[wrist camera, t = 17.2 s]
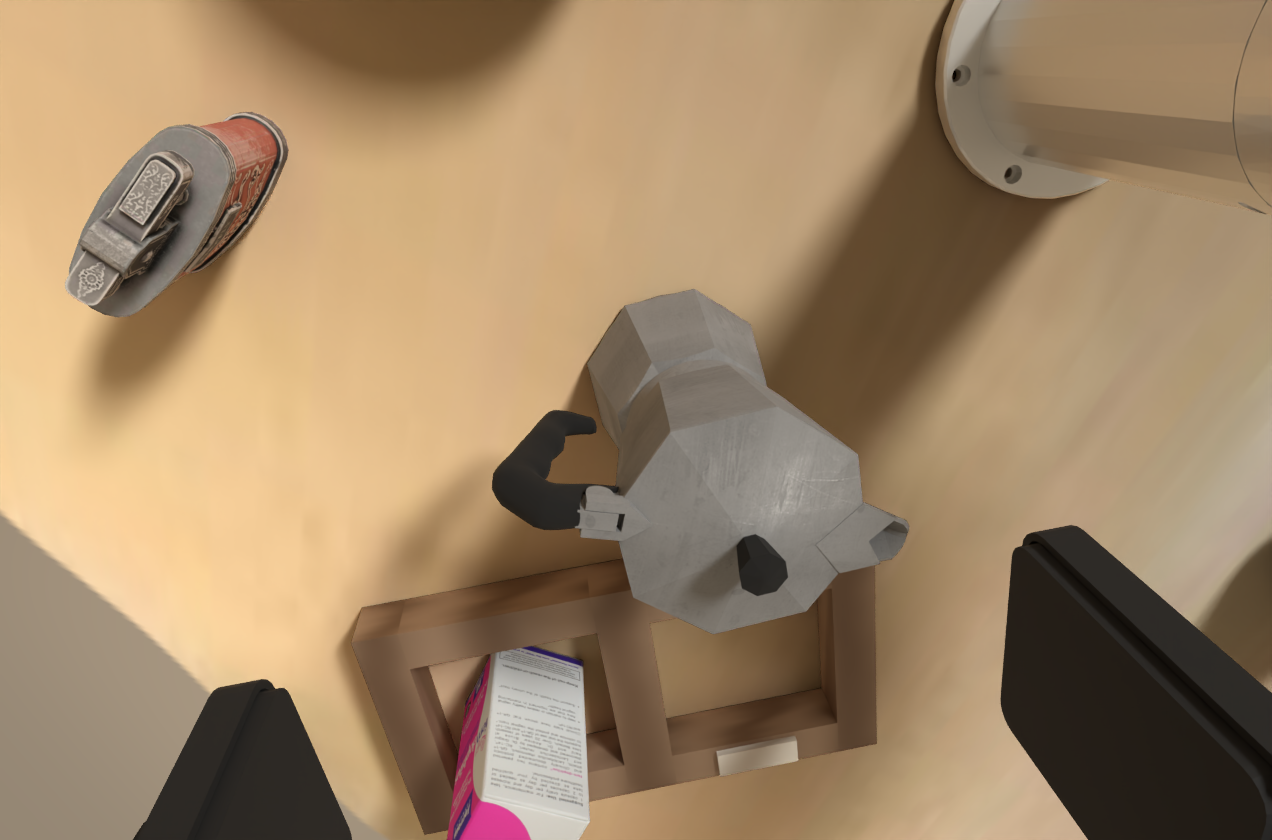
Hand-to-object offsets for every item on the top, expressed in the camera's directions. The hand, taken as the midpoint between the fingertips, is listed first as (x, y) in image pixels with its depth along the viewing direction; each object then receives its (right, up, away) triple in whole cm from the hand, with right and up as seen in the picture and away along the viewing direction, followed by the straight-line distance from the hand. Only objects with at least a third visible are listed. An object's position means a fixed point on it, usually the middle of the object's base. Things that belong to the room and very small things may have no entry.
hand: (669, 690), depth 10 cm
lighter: (-19, +14, +25) cm, 34 cm away
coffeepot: (0, +6, +31) cm, 32 cm away
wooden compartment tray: (-1, -12, +39) cm, 41 cm away
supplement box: (-8, -13, +39) cm, 41 cm away
